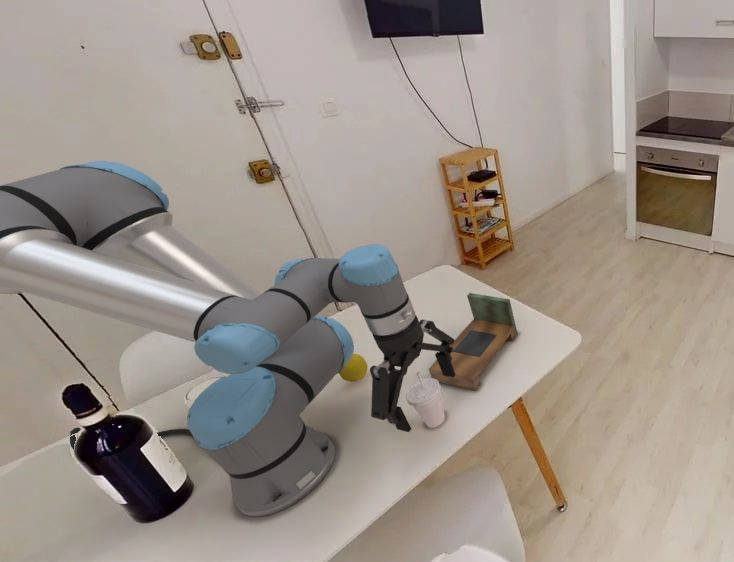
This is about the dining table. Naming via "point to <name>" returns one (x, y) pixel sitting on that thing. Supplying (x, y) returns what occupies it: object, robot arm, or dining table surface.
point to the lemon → (354, 369)
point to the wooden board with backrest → (478, 340)
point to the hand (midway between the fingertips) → (428, 400)
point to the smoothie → (427, 400)
